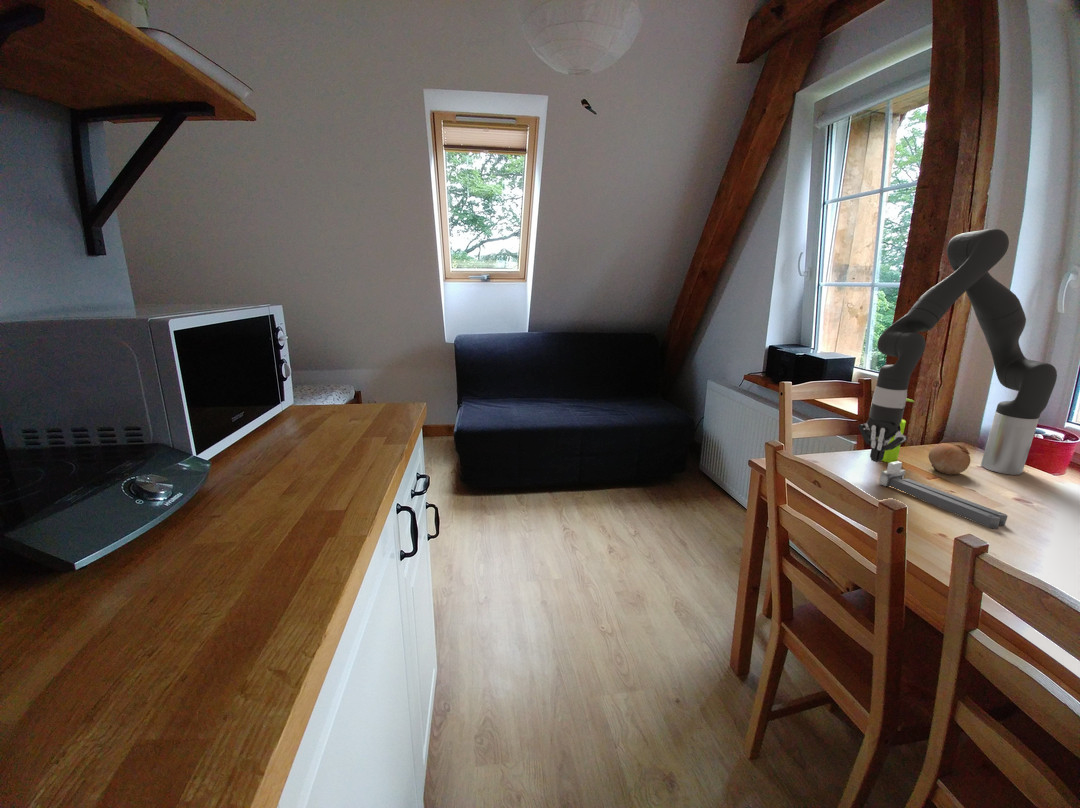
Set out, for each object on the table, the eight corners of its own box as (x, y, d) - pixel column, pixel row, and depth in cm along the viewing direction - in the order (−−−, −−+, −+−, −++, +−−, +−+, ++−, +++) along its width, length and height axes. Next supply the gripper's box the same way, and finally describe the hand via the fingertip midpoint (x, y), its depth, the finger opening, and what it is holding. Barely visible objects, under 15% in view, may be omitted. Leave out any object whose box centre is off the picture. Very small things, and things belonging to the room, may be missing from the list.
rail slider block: (878, 483, 134) (883, 463, 133) (895, 479, 137) (899, 459, 135) (886, 486, 133) (890, 465, 131) (902, 482, 135) (907, 462, 133)
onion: (957, 482, 143) (983, 456, 139) (948, 481, 138) (975, 454, 134) (925, 461, 150) (950, 435, 146) (915, 459, 144) (941, 433, 140)
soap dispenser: (904, 463, 149) (918, 401, 143) (879, 461, 150) (893, 400, 145) (895, 456, 155) (908, 396, 149) (871, 454, 156) (883, 395, 150)
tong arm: (901, 486, 133) (902, 479, 132) (905, 485, 133) (907, 478, 133) (1002, 525, 113) (1004, 517, 112) (1006, 524, 114) (1009, 515, 113)
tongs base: (880, 483, 135) (881, 475, 134) (890, 480, 137) (892, 472, 136) (994, 529, 112) (997, 519, 111) (1005, 525, 113) (1008, 516, 113)
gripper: (855, 398, 138) (845, 454, 143) (904, 411, 126) (890, 471, 131) (873, 395, 140) (862, 451, 145) (922, 408, 129) (908, 467, 133)
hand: (875, 460), depth 138 cm, fingers closed
